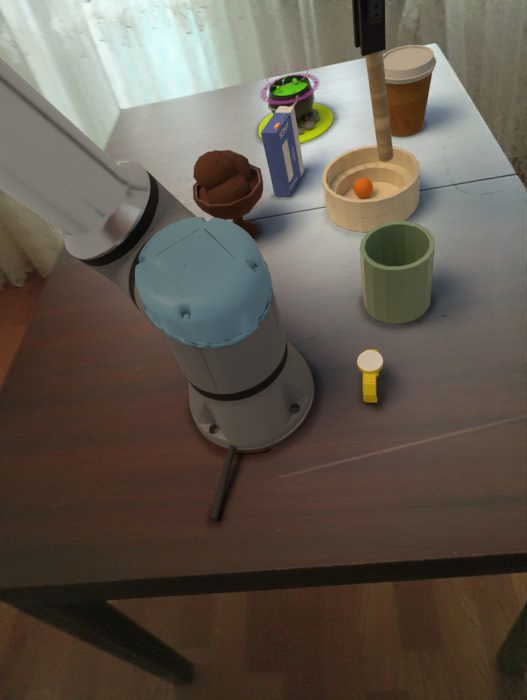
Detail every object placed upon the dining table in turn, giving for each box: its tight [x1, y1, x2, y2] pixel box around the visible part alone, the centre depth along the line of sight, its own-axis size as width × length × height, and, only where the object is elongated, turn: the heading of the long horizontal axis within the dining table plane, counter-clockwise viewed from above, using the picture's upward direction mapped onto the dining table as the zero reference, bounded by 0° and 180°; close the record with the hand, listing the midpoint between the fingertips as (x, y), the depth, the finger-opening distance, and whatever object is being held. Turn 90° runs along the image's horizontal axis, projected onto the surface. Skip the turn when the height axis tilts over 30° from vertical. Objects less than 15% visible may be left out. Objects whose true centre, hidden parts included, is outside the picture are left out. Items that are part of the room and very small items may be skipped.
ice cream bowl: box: [192, 149, 264, 240], centre depth 76 cm, size 11×11×15 cm
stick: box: [364, 50, 394, 162], centre depth 59 cm, size 2×2×26 cm
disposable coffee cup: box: [383, 44, 437, 137], centre depth 85 cm, size 10×10×12 cm
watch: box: [356, 349, 384, 404], centre depth 56 cm, size 6×3×6 cm, turn 170°
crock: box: [359, 220, 436, 325], centre depth 62 cm, size 8×8×10 cm
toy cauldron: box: [258, 60, 334, 144], centre depth 95 cm, size 15×15×11 cm
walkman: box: [261, 106, 305, 198], centre depth 82 cm, size 8×3×12 cm, turn 157°
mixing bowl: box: [321, 144, 421, 233], centre depth 76 cm, size 14×14×6 cm
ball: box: [354, 178, 373, 197], centre depth 79 cm, size 3×3×3 cm
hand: (369, 47), depth 58 cm, fingers closed on stick, 2 cm apart
